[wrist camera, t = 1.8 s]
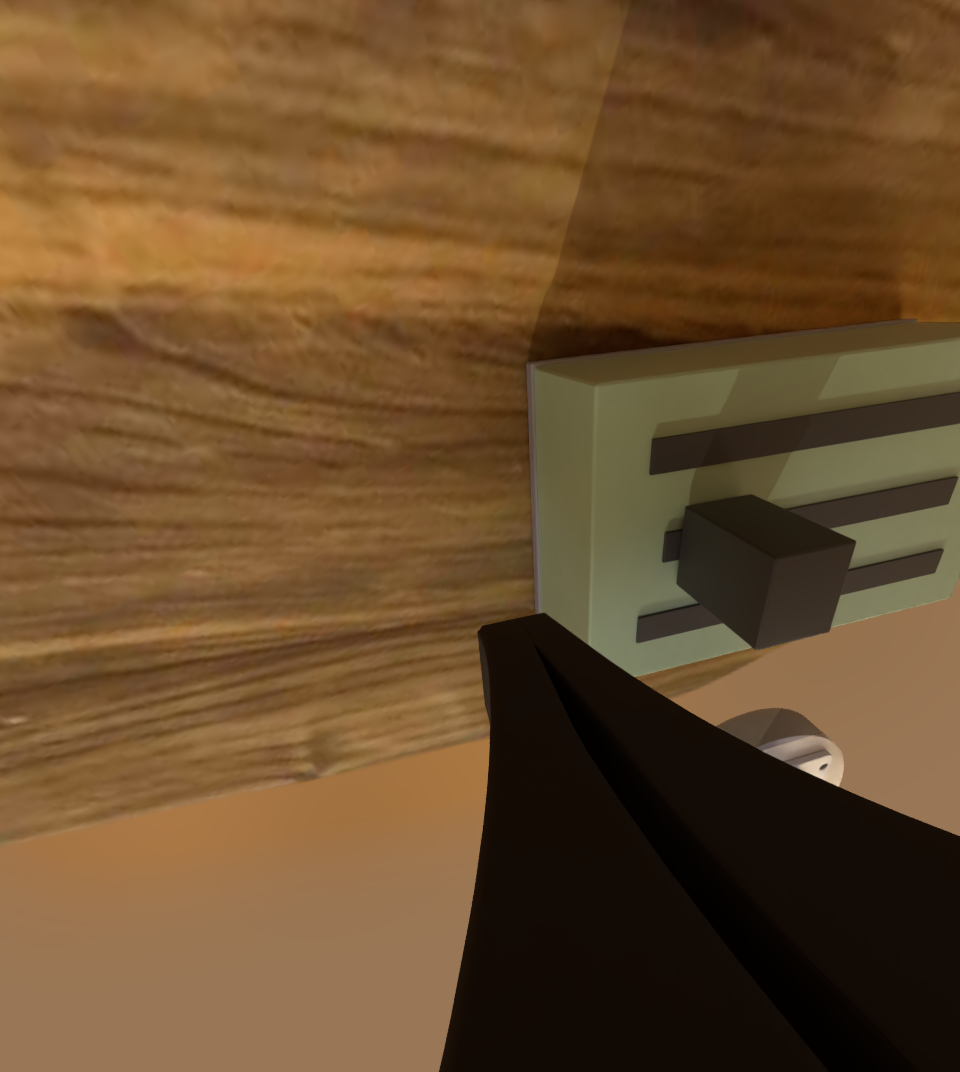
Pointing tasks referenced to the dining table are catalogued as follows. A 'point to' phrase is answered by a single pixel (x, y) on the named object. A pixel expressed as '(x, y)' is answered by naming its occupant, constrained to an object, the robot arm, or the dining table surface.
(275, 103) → the dining table surface
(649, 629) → the green slab
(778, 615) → the slider
